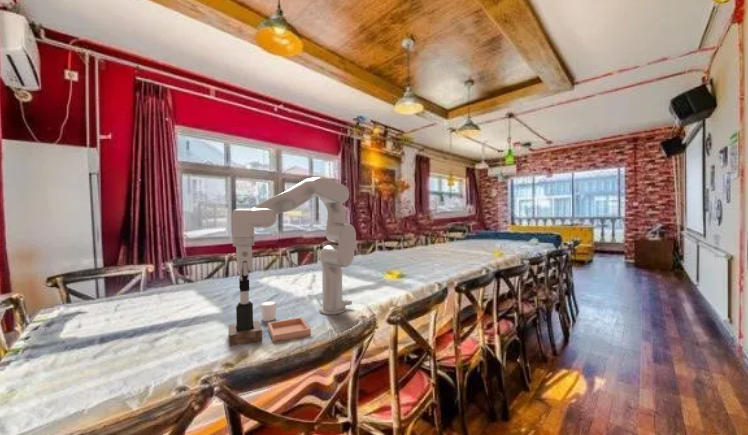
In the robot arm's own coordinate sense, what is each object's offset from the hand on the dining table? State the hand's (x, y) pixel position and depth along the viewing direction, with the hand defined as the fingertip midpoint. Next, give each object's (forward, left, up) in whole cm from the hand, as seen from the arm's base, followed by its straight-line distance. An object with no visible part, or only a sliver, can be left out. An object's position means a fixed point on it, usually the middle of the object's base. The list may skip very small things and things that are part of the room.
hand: (244, 289), depth 117 cm
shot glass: (-11, -17, -19) cm, 28 cm away
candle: (0, 0, -19) cm, 19 cm away
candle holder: (0, 0, -19) cm, 19 cm away
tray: (-16, +2, -19) cm, 25 cm away
